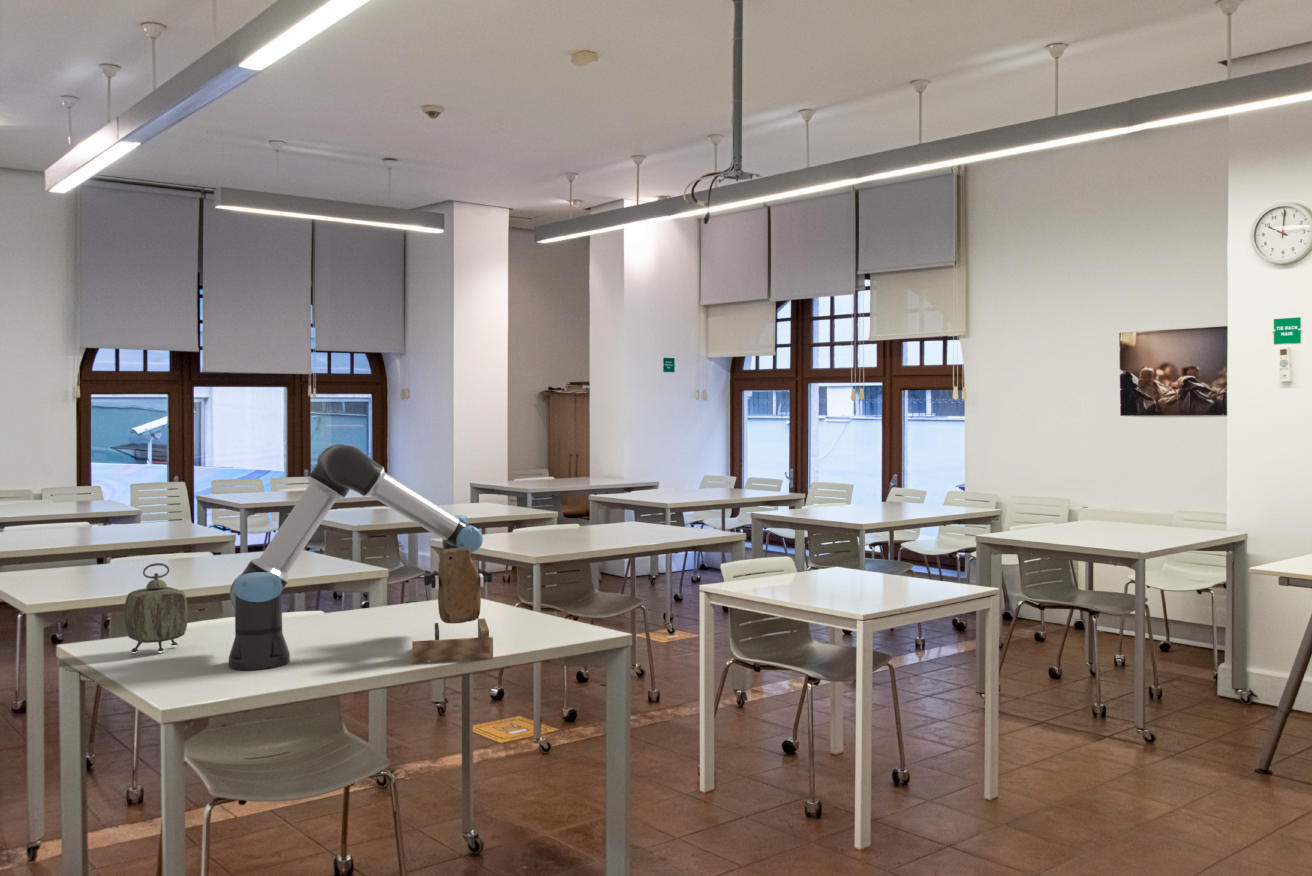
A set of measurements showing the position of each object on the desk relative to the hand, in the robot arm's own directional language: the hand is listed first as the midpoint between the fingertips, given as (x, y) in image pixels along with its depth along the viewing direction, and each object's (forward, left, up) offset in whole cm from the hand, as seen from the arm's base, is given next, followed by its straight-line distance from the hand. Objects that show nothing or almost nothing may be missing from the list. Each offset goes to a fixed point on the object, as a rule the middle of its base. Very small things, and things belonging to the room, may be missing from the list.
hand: (459, 583), depth 278 cm
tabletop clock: (-82, +29, -20) cm, 89 cm away
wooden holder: (-2, +4, -20) cm, 20 cm away
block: (0, +4, -11) cm, 12 cm away
